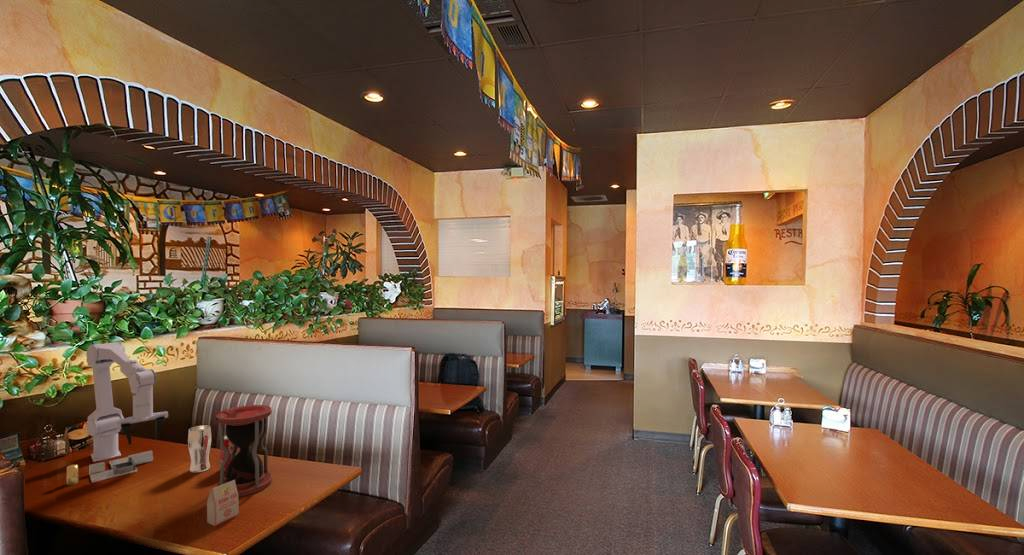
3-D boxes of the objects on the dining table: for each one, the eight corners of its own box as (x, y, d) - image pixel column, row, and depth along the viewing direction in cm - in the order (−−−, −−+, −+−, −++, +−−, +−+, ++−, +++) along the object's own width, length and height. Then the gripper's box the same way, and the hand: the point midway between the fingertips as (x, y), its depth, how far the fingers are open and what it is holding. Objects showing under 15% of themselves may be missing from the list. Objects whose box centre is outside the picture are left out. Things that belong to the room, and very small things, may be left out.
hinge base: (89, 474, 162) (89, 465, 162) (133, 464, 170) (133, 455, 170) (91, 483, 155) (91, 472, 155) (137, 471, 164) (137, 462, 164)
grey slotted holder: (109, 463, 171) (109, 453, 171) (149, 454, 180) (149, 445, 180) (112, 470, 165) (112, 460, 165) (154, 460, 173) (154, 451, 173)
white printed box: (207, 522, 131) (206, 487, 131) (231, 511, 137) (230, 478, 137) (214, 526, 129) (214, 490, 129) (238, 514, 135) (238, 481, 135)
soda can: (247, 465, 170) (247, 433, 170) (234, 473, 163) (233, 440, 163) (229, 464, 170) (229, 432, 170) (215, 472, 163) (215, 439, 163)
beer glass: (202, 473, 163) (202, 431, 162) (183, 473, 163) (183, 431, 163) (215, 465, 170) (215, 424, 169) (197, 465, 170) (197, 424, 170)
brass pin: (66, 483, 155) (66, 466, 155) (78, 481, 157) (77, 463, 157) (67, 486, 153) (66, 468, 153) (78, 483, 155) (78, 466, 155)
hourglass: (255, 471, 165) (254, 401, 164) (282, 482, 156) (281, 408, 156) (206, 489, 151) (205, 413, 150) (233, 502, 142) (232, 422, 142)
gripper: (118, 410, 160) (118, 449, 160) (169, 402, 170) (169, 438, 170) (115, 406, 164) (116, 444, 165) (165, 398, 175) (166, 433, 175)
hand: (143, 441), depth 168 cm, fingers open, 7 cm apart
